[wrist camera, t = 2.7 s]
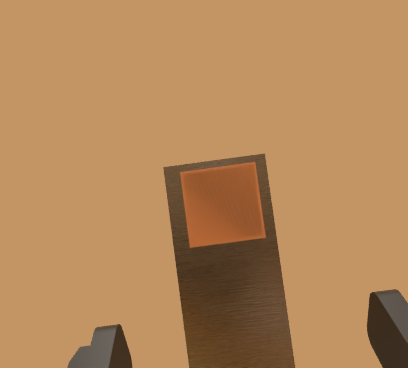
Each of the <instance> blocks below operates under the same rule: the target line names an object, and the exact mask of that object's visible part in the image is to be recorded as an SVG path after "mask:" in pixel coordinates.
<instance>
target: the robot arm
mask: <svg viewBox="0 0 408 368" xmlns="http://www.w3.org/2000/svg"><path fill="white" fill-rule="evenodd" d="M367 332H368V337H369V340H370V343H371V346H372V348H373V349H374V351H375V353H376V355H377V357H378V359H379V361H380V363H381V365H382V367H383V368H408V303H407V302H406V300H405V299H404V297H403V296H402V295H401V293H400V292H399V291H398V290H396V289H394V290H386V291H378V292H372V293H371V294H370V298H369V310H368V322H367ZM68 368H132V361H131V356H130V352H129V349H128V346H127V342H126V339H125V336H124V333H123V330H122V327H121V325H120V324H118V325H111V326H103V327H97V328H96V329H95V331H94V334H93V338H92V341H91V345H90V346H84V347H80V348H79V349H78V351H77V352H76V353H75V355H74V356H73V358H72V359H71V360H70V362H69V365H68Z"/></svg>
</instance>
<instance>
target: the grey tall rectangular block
mask: <svg viewBox="0 0 408 368" xmlns="http://www.w3.org/2000/svg"><path fill="white" fill-rule="evenodd" d="M252 162H255V164H256V171H257V178H258V186H259V193H260V200H261V207H262V214H263V221H264V228H265V235H266V238H260V239H252V240H245V241H237V242H229V243H222V244H214V245H207V246H199V247H192V248H190V244H189V237H188V229H187V221H186V214H185V206H184V199H183V191H182V183H181V176H180V172H185V171H193V170H200V169H207V168H215V167H222V166H230V165H237V164H244V163H252ZM164 175H165V183H166V190H167V199H168V206H169V213H170V222H171V229H172V236H173V245H174V253H175V260H176V268H177V276H178V283H179V291H180V299H181V307H182V314H183V322H184V330H185V337H186V344H187V353H188V360H189V368H295V364H294V357H293V349H292V343H291V335H290V329H289V321H288V315H287V308H286V301H285V293H284V286H283V279H282V272H281V265H280V258H279V251H278V244H277V237H276V230H275V223H274V216H273V209H272V202H271V195H270V188H269V181H268V174H267V167H266V159H265V154H259V155H251V156H244V157H237V158H229V159H222V160H215V161H208V162H201V163H192V164H185V165H178V166H170V167H164Z"/></svg>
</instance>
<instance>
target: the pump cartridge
mask: <svg viewBox="0 0 408 368" xmlns="http://www.w3.org/2000/svg"><path fill="white" fill-rule="evenodd" d="M180 176H181V183H182V191H183V199H184V206H185V214H186V221H187V229H188V237H189V244H190V248H192V247H199V246H207V245H214V244H222V243H229V242H237V241H245V240H252V239H260V238H266V235H265V228H264V221H263V214H262V207H261V200H260V193H259V186H258V178H257V171H256V164H255V162H252V163H244V164H237V165H230V166H222V167H215V168H207V169H200V170H193V171H185V172H180Z"/></svg>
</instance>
